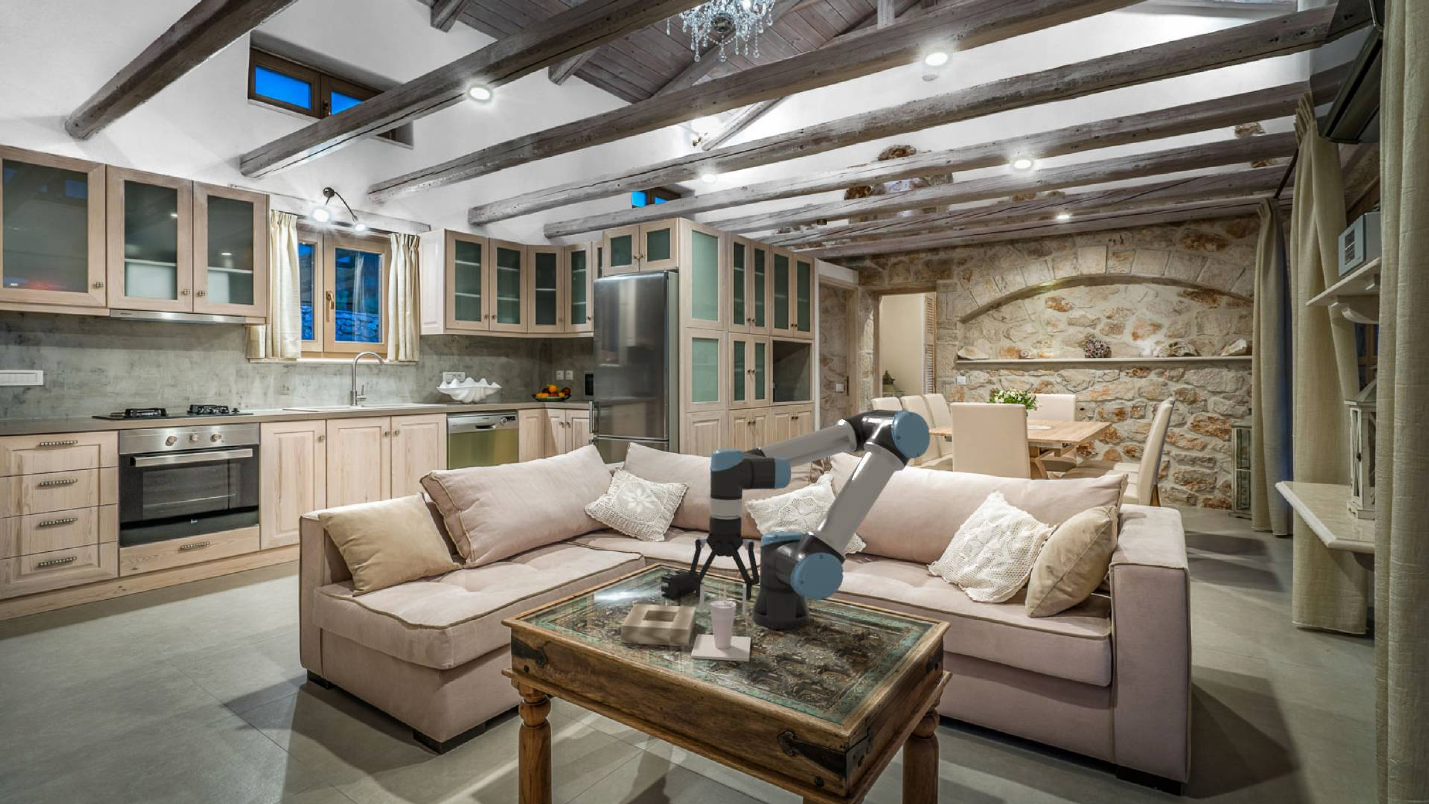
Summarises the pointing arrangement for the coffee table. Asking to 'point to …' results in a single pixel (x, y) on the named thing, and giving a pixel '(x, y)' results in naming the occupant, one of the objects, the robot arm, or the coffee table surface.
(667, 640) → the frame
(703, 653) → the tile
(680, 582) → the end cap
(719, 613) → the smoothie
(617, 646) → the coffee table surface
